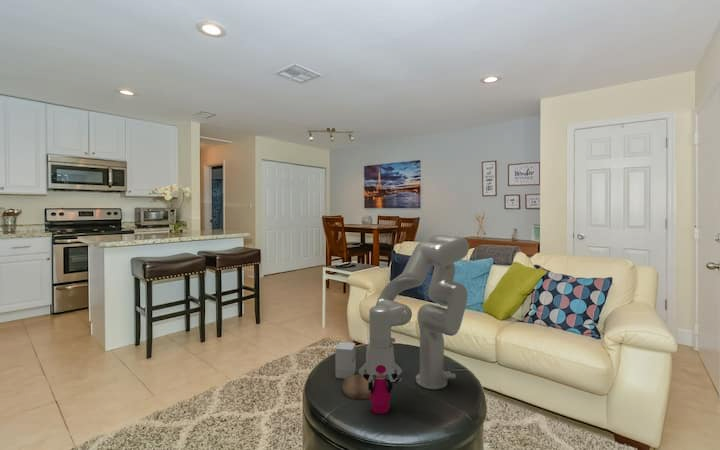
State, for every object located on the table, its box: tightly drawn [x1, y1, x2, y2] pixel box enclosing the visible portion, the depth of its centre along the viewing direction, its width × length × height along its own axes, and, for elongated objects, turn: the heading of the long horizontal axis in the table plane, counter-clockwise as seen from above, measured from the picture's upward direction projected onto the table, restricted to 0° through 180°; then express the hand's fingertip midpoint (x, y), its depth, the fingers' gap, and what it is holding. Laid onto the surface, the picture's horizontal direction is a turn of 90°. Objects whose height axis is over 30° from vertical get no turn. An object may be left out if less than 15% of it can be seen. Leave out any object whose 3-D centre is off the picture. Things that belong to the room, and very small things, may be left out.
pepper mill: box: [369, 365, 392, 415], centre depth 126 cm, size 7×7×20 cm
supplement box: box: [334, 341, 357, 380], centre depth 151 cm, size 7×7×13 cm
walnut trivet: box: [341, 373, 375, 400], centre depth 140 cm, size 14×14×2 cm
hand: (380, 390), depth 126 cm, fingers closed on pepper mill, 5 cm apart
